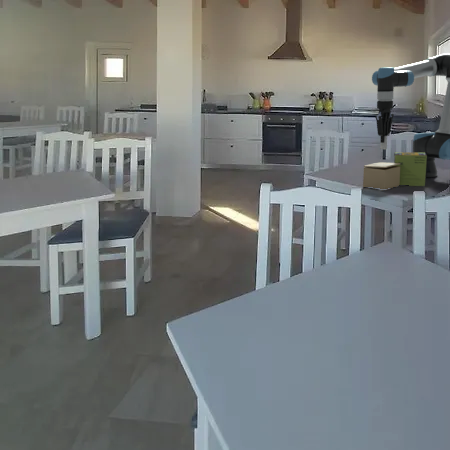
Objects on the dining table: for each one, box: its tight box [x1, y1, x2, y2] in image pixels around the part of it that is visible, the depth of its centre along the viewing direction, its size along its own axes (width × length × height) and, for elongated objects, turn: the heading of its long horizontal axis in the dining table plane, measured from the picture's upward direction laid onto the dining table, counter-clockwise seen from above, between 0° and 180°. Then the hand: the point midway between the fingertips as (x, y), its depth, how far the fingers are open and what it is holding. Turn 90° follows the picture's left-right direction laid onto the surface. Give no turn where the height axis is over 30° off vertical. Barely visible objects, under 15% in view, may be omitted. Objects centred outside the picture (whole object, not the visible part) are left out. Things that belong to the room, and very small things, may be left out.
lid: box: [363, 161, 400, 168], centre depth 318 cm, size 14×12×1 cm
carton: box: [362, 166, 400, 190], centre depth 320 cm, size 14×12×10 cm
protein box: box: [393, 151, 427, 187], centre depth 326 cm, size 10×15×16 cm
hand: (383, 149), depth 316 cm, fingers closed
